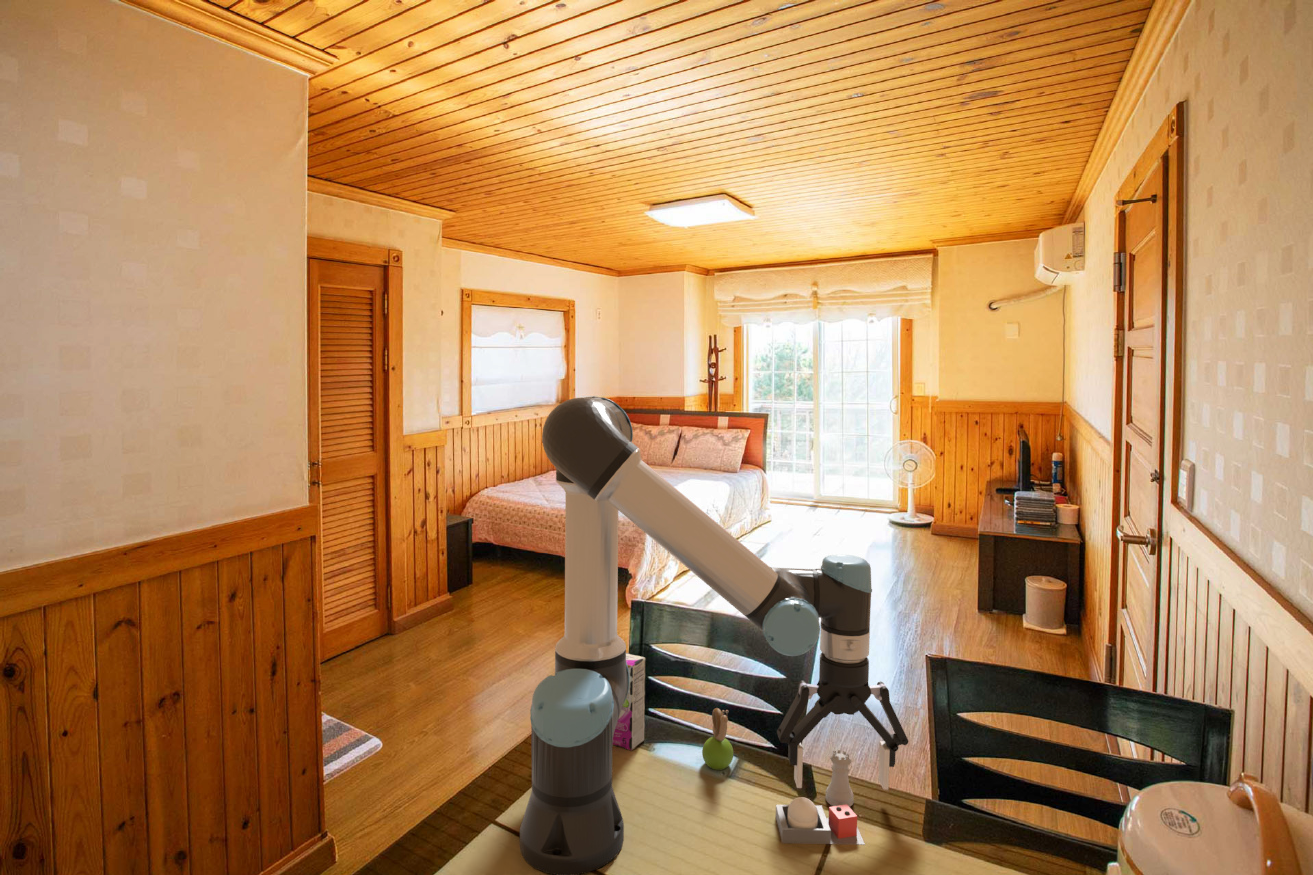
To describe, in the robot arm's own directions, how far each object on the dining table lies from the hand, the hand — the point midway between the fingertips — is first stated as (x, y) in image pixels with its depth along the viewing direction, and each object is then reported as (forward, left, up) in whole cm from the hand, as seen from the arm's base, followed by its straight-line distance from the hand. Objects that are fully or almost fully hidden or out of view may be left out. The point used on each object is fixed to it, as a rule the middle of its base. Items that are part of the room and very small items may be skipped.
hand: (840, 784), depth 110 cm
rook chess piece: (0, 0, -3) cm, 3 cm away
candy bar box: (-38, -20, -4) cm, 43 cm away
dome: (+2, -10, -2) cm, 11 cm away
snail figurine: (-19, -10, -4) cm, 21 cm away
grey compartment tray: (+3, -8, -3) cm, 10 cm away
